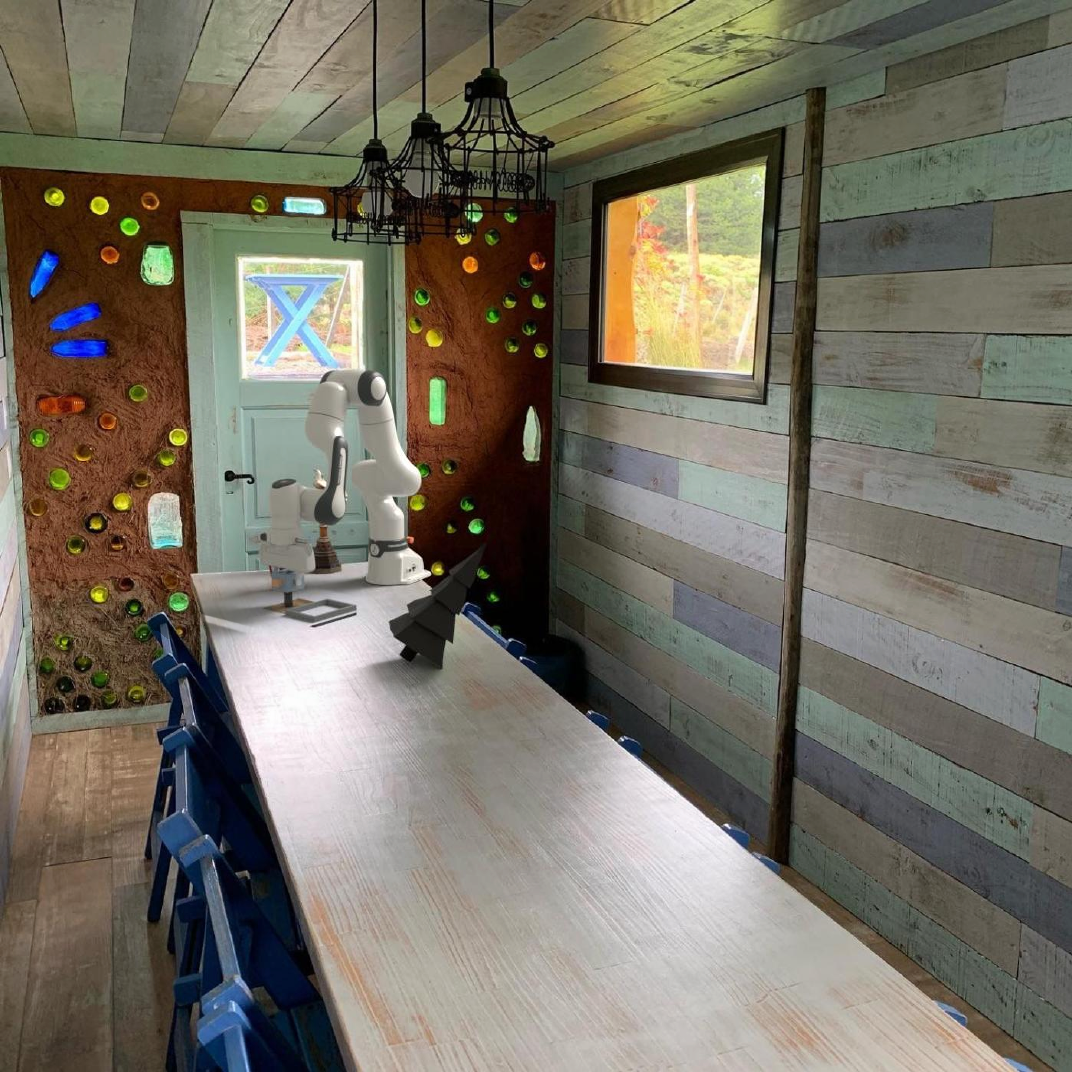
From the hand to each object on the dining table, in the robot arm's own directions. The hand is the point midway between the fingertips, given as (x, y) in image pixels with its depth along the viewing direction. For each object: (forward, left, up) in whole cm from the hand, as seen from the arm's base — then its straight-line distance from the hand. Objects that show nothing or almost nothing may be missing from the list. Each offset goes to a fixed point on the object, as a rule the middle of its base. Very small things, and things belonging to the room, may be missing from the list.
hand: (288, 583), depth 312 cm
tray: (-1, +13, -8) cm, 15 cm away
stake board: (-1, +1, -8) cm, 8 cm away
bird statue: (-45, -29, -9) cm, 54 cm away
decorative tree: (+8, +65, -9) cm, 66 cm away
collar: (0, 0, -2) cm, 2 cm away
